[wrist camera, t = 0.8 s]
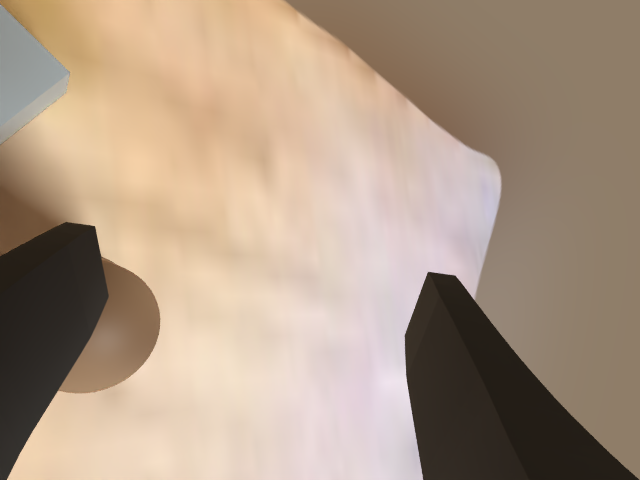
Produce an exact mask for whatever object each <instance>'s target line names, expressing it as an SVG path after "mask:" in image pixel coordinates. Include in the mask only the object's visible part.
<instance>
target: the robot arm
mask: <svg viewBox="0 0 640 480" xmlns="http://www.w3.org/2000/svg"><path fill="white" fill-rule="evenodd" d="M108 298H109V294H108V289H107V284H106V279H105V274H104V269H103V264H102V259H101V254H100V249H99V244H98V239H97V234H96V229H95V226H90V225H83V224H75V223H68V222H65V223H63V224H61V225H59V226H57V227H55V228H53V229H51V230H49V231H47V232H45V233H43V234H41V235H39V236H37V237H35V238H34V239H32V240H30V241H28V242H26V243H24V244H22V245H20V246H19V247H17V248H15V249H13V250H11V251H9V252H8V253H6V254H4V255H2V256H0V480H7V478H8V476H9V474H10V472H11V470H12V468H13V466H14V464H15V462H16V460H17V458H18V456H19V454H20V452H21V451H22V449H23V447H24V445H25V444H26V442H27V440H28V438H29V437H30V435H31V433H32V431H33V430H34V428H35V427H36V425H37V423H38V422H39V420H40V419H41V417H42V415H43V414H44V412H45V411H46V409H47V407H48V406H49V404H50V403H51V401H52V399H53V398H54V396H55V395H56V393H57V391H58V390H59V388H60V387H61V385H62V383H63V382H64V380H65V379H66V377H67V375H68V374H69V372H70V371H71V369H72V367H73V366H74V364H75V362H76V361H77V359H78V358H79V356H80V354H81V353H82V351H83V349H84V348H85V346H86V344H87V343H88V341H89V339H90V338H91V336H92V334H93V332H94V329H95V327H96V325H97V323H98V321H99V319H100V316H101V314H102V312H103V309H104V307H105V305H106V302H107V300H108ZM405 357H406V377H407V384H408V390H409V397H410V403H411V409H412V415H413V421H414V427H415V433H416V439H417V445H418V450H419V456H420V462H421V468H422V474H423V480H639V479H638V478H637V477H635V476H634V475H633V474H632V473H631V472H630V471H629V470H628V469H626V468H625V467H624V466H623V465H622V464H621V463H620V462H619V461H618V460H617V459H615V457H613V456H612V455H611V454H610V453H609V452H608V451H607V450H606V449H605V448H604V447H603V446H602V445H601V444H600V443H599V442H598V441H597V440H596V439H595V438H594V437H593V436H592V435H590V433H589V432H588V431H587V430H586V429H584V428H583V426H582V425H581V424H580V423H579V422H577V421H576V420H575V419H574V418H573V417H572V416H571V415H570V414H569V413H568V411H567V410H566V409H565V408H564V407H563V406H562V405H561V404H560V403H559V402H558V401H557V400H556V399H555V398H554V397H553V395H552V394H551V393H550V392H549V391H548V390H547V389H546V388H545V387H544V385H543V384H542V383H541V382H540V381H539V380H538V379H537V378H536V376H535V375H534V374H533V373H532V372H531V371H530V370H529V369H528V367H527V366H526V365H525V364H524V362H523V361H522V360H521V359H520V358H519V357H518V355H517V354H516V353H515V352H514V350H513V349H512V348H511V347H510V346H509V344H508V343H507V342H506V341H505V339H504V338H503V337H502V336H501V334H500V333H499V332H498V331H497V329H496V328H495V327H494V325H493V324H492V323H491V322H490V320H489V319H488V318H487V316H486V315H485V314H484V313H483V311H482V310H481V308H480V307H479V306H478V305H477V303H476V302H475V301H474V299H473V298H472V297H471V295H470V294H469V293H468V291H467V290H466V289H465V287H464V286H463V285H462V283H461V282H460V281H459V280H458V278H457V277H456V276H454V275H447V274H439V273H432V272H428V273H427V276H426V279H425V282H424V284H423V287H422V290H421V292H420V295H419V298H418V301H417V303H416V306H415V309H414V312H413V314H412V317H411V320H410V323H409V325H408V328H407V331H406V334H405Z"/></svg>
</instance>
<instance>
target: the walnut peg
mask: <svg viewBox="0 0 640 480" xmlns="http://www.w3.org/2000/svg"><path fill="white" fill-rule="evenodd" d="M101 259H102V264H103V269H104V274H105V279H106V284H107V289H108V294H109V298H108V300H107V302H106V305H105V307H104V309H103V312H102V314H101V316H100V319H99V321H98V323H97V325H96V327H95V329H94V332H93V334H92V336H91V338H90V339H89V341H88V343H87V344H86V346H85V348H84V349H83V351H82V353H81V354H80V356H79V358H78V359H77V361H76V362H75V364H74V366H73V367H72V369H71V371H70V372H69V374H68V375H67V377H66V379H65V380H64V382H63V383H62V385H61V387H60V388H59V390H58V391H63V392H68V393H90V392H96V391H100V390H104V389H107V388H110V387H112V386H115V385H117V384H119V383H120V382H122V381H124V380H125V379H127V378H128V377H130V376H131V375H132V374H134V373H135V372H136V371H137V370H138V369H139V368H140V367H141V366H142V365H143V364H144V363H145V361H146V360H147V359H148V357H149V356H150V354H151V352H152V351H153V349H154V346H155V344H156V341H157V338H158V335H159V329H160V313H159V308H158V304H157V301H156V299H155V296H154V295H153V293H152V291H151V290H150V288H149V287H148V286H147V285H146V283H145V282H144V281H143V280H142V279H140V278H139V277H138V276H137V275H135V274H134V273H132V272H130V271H129V270H127V269H125V268H122V267H120V266H118V265H116V264H115V263H113V262H112V261H110V260H108V259H105V258H103V257H101Z"/></svg>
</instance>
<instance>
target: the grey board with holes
mask: <svg viewBox="0 0 640 480" xmlns="http://www.w3.org/2000/svg"><path fill="white" fill-rule="evenodd" d="M69 75H70V72H69V71H68V70H67V69H66V68H65V67H64V66H63V65H62V64H61V63H60V62H59V61H58V60H57V59H56V58H55V57H54V56H53V55H52V54H51V53H50V52H49V51H48V50H46V49H45V48H44V47H43V46H42V45H41V44H40V43H39V42H38V41H37V40H36V39H35V38H34V37H33V36H32V35H31V34H30V33H29V32H28V31H27V30H26V29H25V28H24V27H23V26H22V25H21V24H20V23H19V22H18V21H17V20H16V19H15V18H14V17H13V16H12V15H11V14H10V13H9V12H8V11H7V10H6V9H5V8H4V7H3V6H2V5H1V4H0V145H1V144H2V143H3V142H4V141H6V140H7V139H8V138H10V137H11V136H12V135H13V134H15V133H16V132H17V131H18V130H20V129H21V128H22V127H23V126H25V125H26V124H27V123H28V122H30V121H31V120H32V119H33V118H35V117H36V116H37V115H38V114H40V113H41V112H42V111H44V110H45V109H46V108H47V107H49V106H50V105H51V104H52V103H54V102H55V101H56V100H57V99H59V98H60V97H61V96H62V95H64V94H65V93H66V91H67V85H68V80H69Z"/></svg>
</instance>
